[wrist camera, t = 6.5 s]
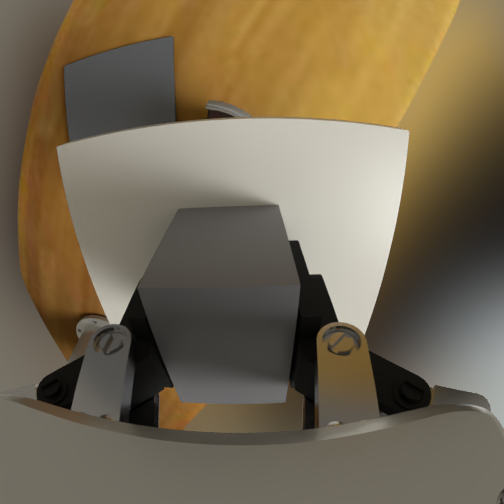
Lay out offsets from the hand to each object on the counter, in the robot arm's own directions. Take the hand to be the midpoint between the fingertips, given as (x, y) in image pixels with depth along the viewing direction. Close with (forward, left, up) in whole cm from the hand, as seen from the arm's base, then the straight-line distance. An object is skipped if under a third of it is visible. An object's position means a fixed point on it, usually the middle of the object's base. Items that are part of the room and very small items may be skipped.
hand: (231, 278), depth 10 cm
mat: (+8, +14, -22) cm, 27 cm away
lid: (0, 0, -2) cm, 2 cm away
